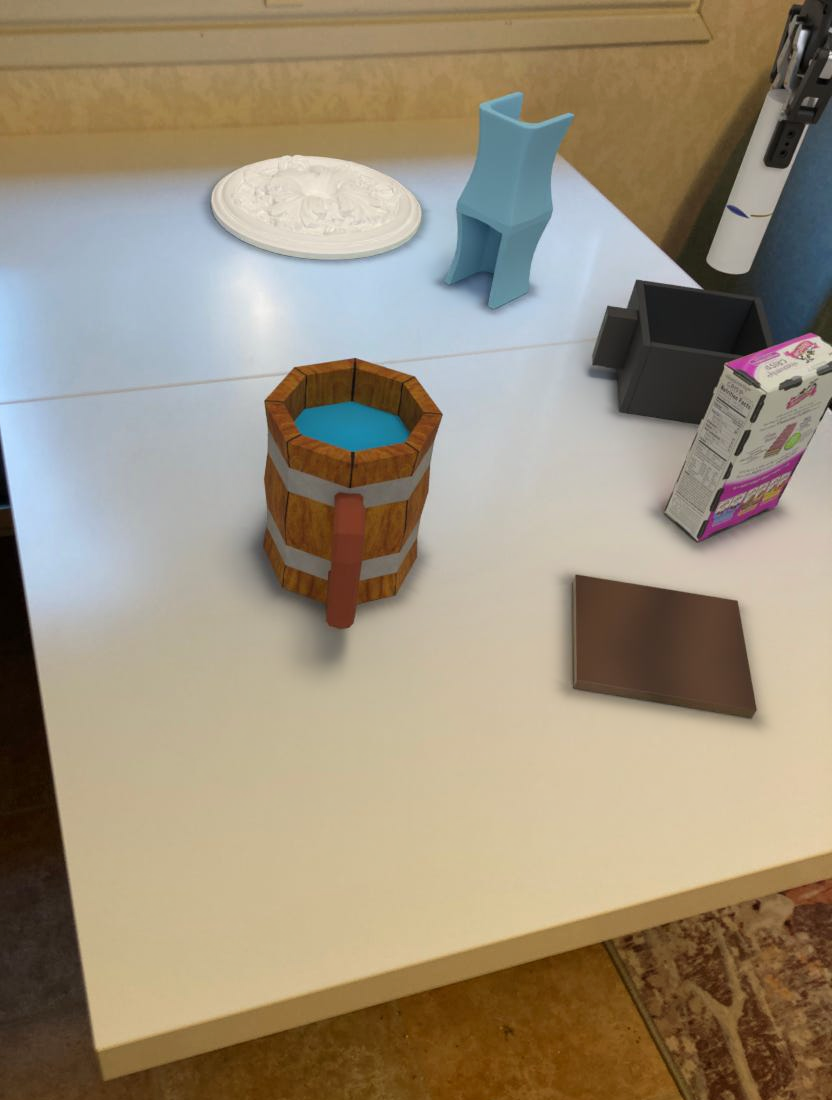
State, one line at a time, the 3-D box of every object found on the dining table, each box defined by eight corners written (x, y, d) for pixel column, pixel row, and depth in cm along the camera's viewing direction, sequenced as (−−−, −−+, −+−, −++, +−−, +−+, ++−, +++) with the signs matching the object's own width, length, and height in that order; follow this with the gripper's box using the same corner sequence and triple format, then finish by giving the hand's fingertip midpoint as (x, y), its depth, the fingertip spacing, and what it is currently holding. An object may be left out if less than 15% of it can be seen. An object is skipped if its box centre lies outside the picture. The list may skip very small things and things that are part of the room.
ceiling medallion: (273, 147, 136) (274, 124, 134) (450, 197, 130) (454, 174, 128) (170, 220, 119) (169, 195, 116) (369, 281, 113) (371, 256, 110)
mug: (268, 496, 85) (270, 350, 74) (414, 506, 86) (439, 364, 75) (249, 660, 72) (248, 515, 61) (421, 671, 73) (452, 529, 62)
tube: (748, 257, 93) (815, 93, 82) (751, 277, 91) (820, 110, 79) (705, 250, 94) (766, 85, 83) (706, 269, 91) (769, 102, 80)
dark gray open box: (732, 362, 107) (760, 297, 101) (747, 431, 98) (780, 365, 92) (587, 340, 108) (607, 274, 102) (589, 407, 99) (611, 339, 93)
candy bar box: (738, 478, 93) (812, 329, 80) (776, 508, 90) (859, 358, 78) (658, 512, 88) (723, 359, 76) (696, 544, 86) (770, 391, 73)
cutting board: (733, 608, 80) (738, 600, 80) (752, 718, 72) (757, 710, 72) (572, 582, 81) (575, 574, 80) (573, 688, 73) (576, 680, 72)
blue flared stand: (533, 289, 115) (575, 114, 100) (493, 309, 111) (530, 130, 96) (485, 264, 118) (518, 91, 103) (444, 282, 114) (473, 105, 99)
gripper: (935, -48, 67) (826, 194, 80) (889, -91, 76) (798, 131, 89) (830, -61, 67) (738, 182, 80) (797, -103, 77) (720, 121, 89)
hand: (770, 154), depth 84 cm, fingers closed on tube, 4 cm apart
